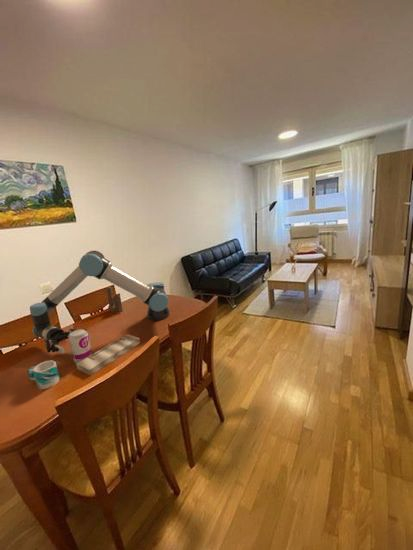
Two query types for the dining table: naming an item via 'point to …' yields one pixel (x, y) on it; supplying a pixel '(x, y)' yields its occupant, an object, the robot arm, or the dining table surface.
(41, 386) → the mug
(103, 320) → the dining table surface
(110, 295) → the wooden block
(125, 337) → the grey compartment tray
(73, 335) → the supplement can
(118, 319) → the dining table surface
